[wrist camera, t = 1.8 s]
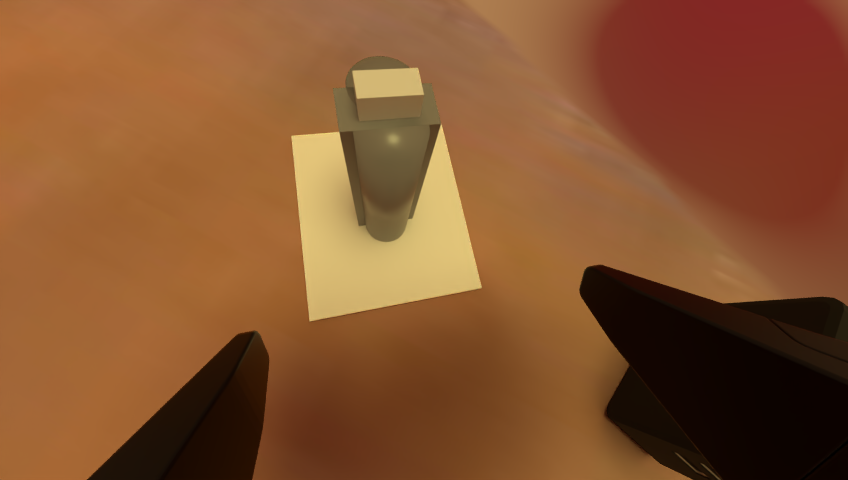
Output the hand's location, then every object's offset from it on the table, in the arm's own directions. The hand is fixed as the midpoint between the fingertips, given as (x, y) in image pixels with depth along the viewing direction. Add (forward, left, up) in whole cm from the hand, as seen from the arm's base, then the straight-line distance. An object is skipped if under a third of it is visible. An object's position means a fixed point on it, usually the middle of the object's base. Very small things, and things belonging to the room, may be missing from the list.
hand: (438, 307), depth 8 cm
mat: (+7, +4, -13) cm, 16 cm away
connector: (+7, +4, -13) cm, 15 cm away
